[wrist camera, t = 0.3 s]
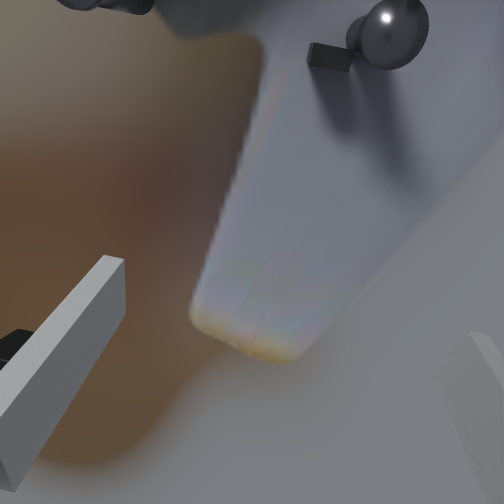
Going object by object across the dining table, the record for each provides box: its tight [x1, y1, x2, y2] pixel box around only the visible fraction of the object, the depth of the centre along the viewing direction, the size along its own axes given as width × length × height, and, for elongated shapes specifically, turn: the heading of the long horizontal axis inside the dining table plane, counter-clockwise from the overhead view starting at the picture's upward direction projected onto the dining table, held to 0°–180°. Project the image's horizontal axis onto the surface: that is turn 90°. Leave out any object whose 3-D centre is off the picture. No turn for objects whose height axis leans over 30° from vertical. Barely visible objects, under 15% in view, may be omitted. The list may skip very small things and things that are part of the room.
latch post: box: [307, 0, 429, 72], centre depth 26 cm, size 5×7×11 cm
